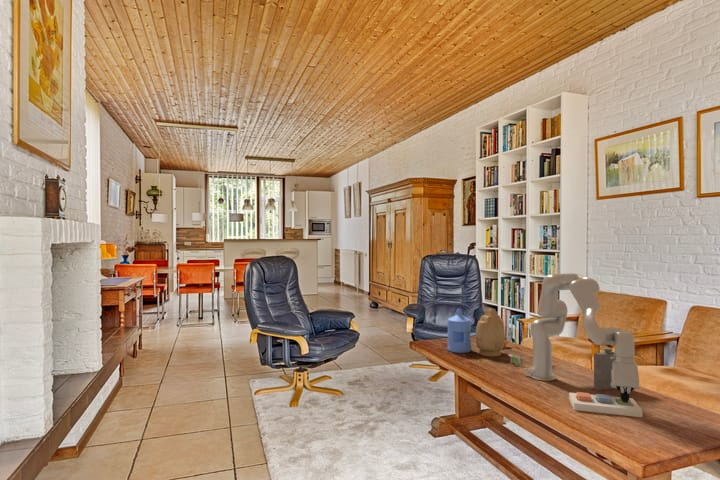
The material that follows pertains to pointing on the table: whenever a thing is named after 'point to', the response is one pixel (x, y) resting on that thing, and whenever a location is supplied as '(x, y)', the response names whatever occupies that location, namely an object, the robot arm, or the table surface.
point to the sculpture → (490, 333)
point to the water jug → (459, 333)
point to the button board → (606, 406)
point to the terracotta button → (583, 396)
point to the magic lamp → (506, 341)
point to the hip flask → (603, 369)
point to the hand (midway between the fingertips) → (624, 401)
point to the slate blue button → (603, 398)
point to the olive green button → (624, 402)
